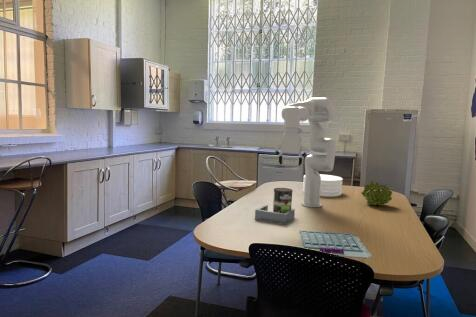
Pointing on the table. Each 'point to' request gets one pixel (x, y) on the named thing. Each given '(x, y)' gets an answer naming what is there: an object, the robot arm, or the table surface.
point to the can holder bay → (273, 215)
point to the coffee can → (282, 200)
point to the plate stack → (329, 185)
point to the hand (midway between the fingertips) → (290, 164)
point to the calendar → (334, 243)
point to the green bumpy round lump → (377, 194)
